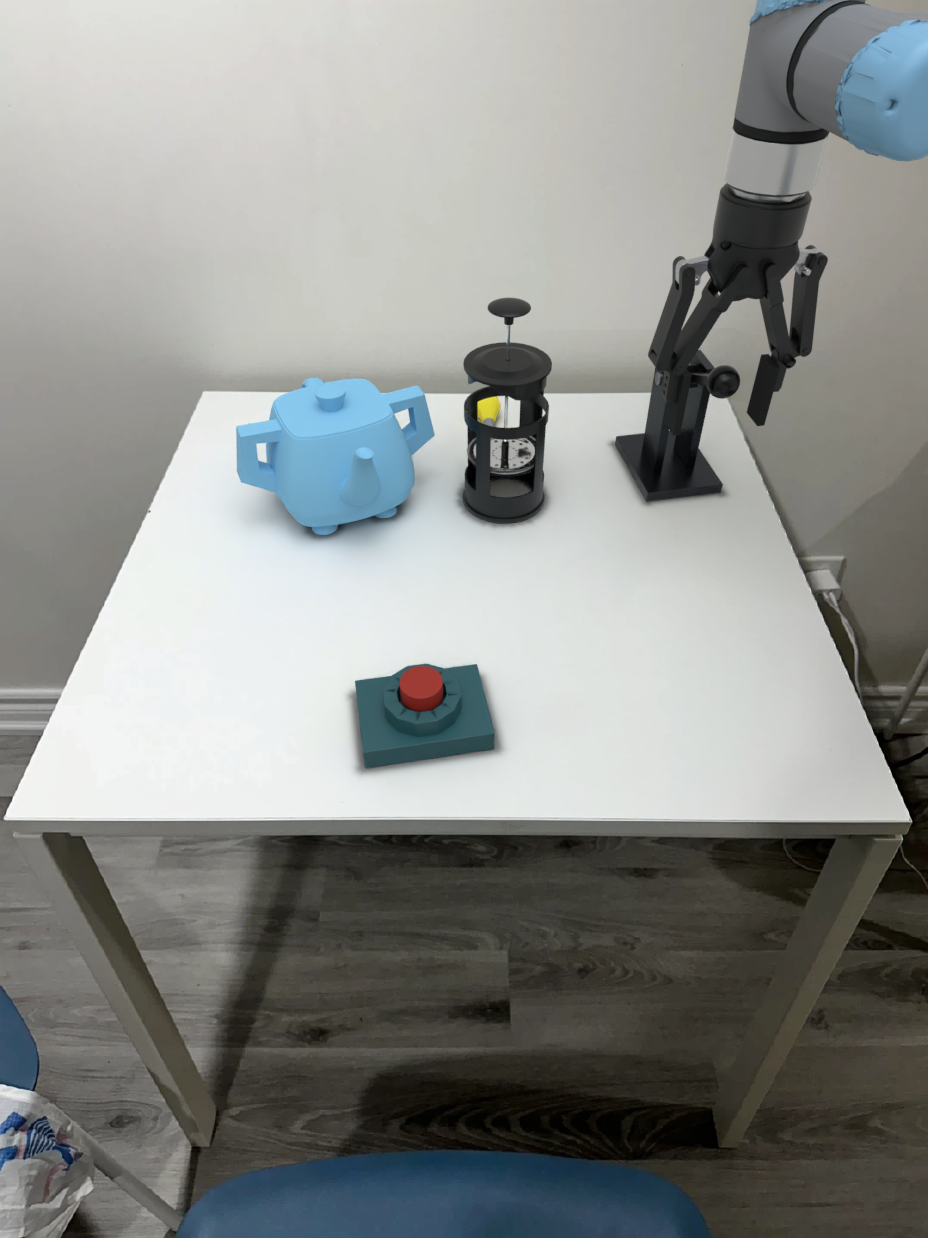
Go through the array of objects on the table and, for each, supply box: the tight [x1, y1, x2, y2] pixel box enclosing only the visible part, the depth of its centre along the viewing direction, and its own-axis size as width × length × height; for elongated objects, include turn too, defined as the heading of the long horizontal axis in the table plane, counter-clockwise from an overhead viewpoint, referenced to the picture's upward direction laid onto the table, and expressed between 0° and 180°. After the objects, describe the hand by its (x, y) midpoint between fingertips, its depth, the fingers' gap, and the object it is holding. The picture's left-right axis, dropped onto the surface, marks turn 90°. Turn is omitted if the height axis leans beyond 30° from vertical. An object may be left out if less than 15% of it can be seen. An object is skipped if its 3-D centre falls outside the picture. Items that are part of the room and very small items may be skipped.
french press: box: [462, 297, 553, 524], centre depth 90 cm, size 12×9×23 cm
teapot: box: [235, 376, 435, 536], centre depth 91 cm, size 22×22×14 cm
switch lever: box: [686, 364, 741, 400], centre depth 88 cm, size 13×3×3 cm, turn 10°
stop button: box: [400, 666, 443, 712], centre depth 71 cm, size 4×4×2 cm
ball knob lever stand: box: [614, 349, 724, 502], centre depth 97 cm, size 12×9×14 cm
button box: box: [354, 663, 496, 769], centre depth 73 cm, size 8×11×4 cm
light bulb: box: [478, 396, 502, 427], centre depth 108 cm, size 3×6×4 cm, turn 4°
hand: (713, 423), depth 87 cm, fingers open, 8 cm apart
